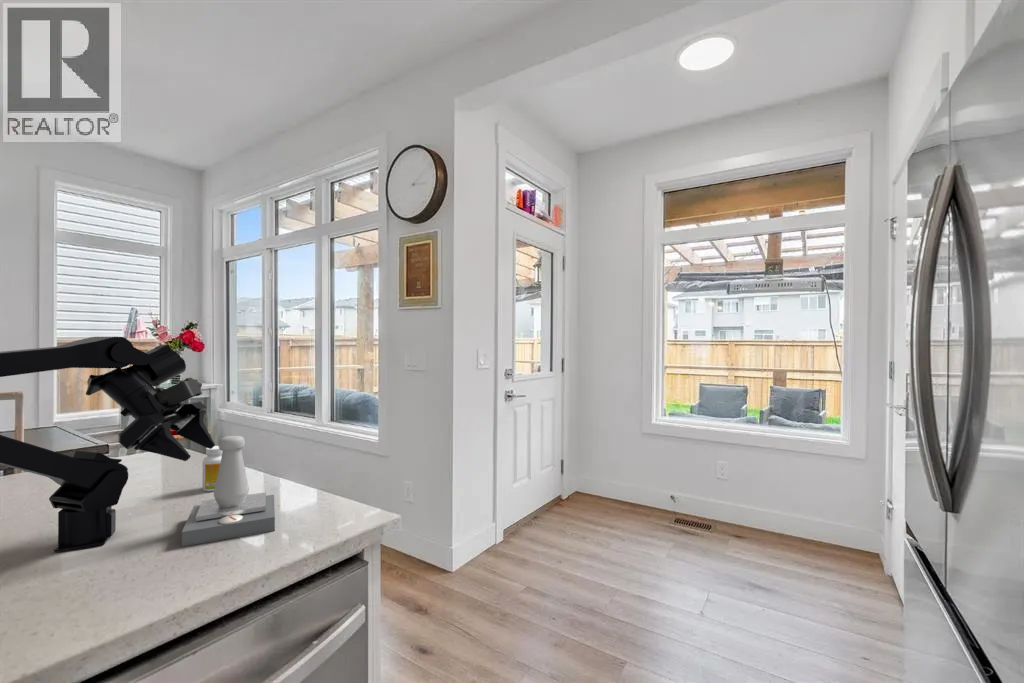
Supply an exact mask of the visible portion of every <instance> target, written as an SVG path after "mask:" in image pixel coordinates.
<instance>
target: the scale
mask: <svg viewBox="0 0 1024 683" xmlns="http://www.w3.org/2000/svg"><path fill="white" fill-rule="evenodd" d="M200 506H201V504H197V505H193V507H192V509H191V511H190V513H189V515H188V518H187V520H186V522H185V524H184V527H183V528H182V531H181V547H188V546H194V545H199V544H207V543H212V542H217V541H223V540H228V539H229V540H230V539H234V538H239V537H240V538H241V537H246V536H252V535H257V534H263V533H268V532H274V531H275V530H276V529H275V528H276V524H275V523H276V522H275V520H276V519H275V518H276V514H275V513H276V512H275V511H276V510H275V494H270V495H269V494H266V510H265V511H258V512H252V513H245V514H239V515H231V516H226V517H219V518H213V519H206V520H199V521H196V515H197V513H198V510H199V508H200Z"/></svg>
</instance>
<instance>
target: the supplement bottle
mask: <svg viewBox="0 0 1024 683" xmlns="http://www.w3.org/2000/svg"><path fill="white" fill-rule="evenodd" d="M222 452H223V451H222V450H220V449H219V445H215V446H214V447H213V448H211V449H209V448H207V447H205V454H206V457H204V458H203V460H202V490H203V491H204V492H214V489H215V485H216V481H217V476H218V472H219V467H220V463H221V457H222Z"/></svg>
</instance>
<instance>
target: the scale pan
mask: <svg viewBox="0 0 1024 683" xmlns="http://www.w3.org/2000/svg"><path fill="white" fill-rule="evenodd" d="M266 496H267V492H258V493H251V494H248V495H247V497H246V499H245V502H244V503H242V504H241V505H239V506H234V507H229V508H224V507H219V505H218V503H217V501H216V500H215V498H214V499H208V500H202V501H201V503H200V505H201V506H200V508H199V510H198V513H197V515H196V521H199V520H206V519H213V518H219V517H226V516H231V515H239V514H245V513H252V512H258V511H265V510H266Z"/></svg>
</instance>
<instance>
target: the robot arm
mask: <svg viewBox="0 0 1024 683" xmlns="http://www.w3.org/2000/svg"><path fill="white" fill-rule="evenodd" d="M127 366H128V367H127ZM71 368H72V369H74V368H75V369H83V368H84V369H111V370H110V371H108V372H106V373H103V374H97V375H96V374H90V375H89V377H88V379H87V381H86V382H87V383H86V384H87V389H86V392H85V395H86V396H92V395H93V394H96V393H98V392H99V391H102V392H104V393H105V394H106V395H107V396H109V398H111V399H112V400H113V401H114V402H115V403H116V404H117V405H119V406H120V407H121V408H122V411H120V414H121V415H122V416H124V417H128V416H131V417H132V418H133V419H134V420H132V422H130V423H128V425H127V426H126V427H125V428H124V429H122V430H121V432H120V433H118V443H119V444H120V445H121V446H123V448H125V449H126V450H129V449H134V451H139V450H140V451H143V452H149V453H153V454H157V455H161V456H165V457H169V458H172V459H176V460H179V461H183V462H186V461H188V460H189V459H190V458H191V455H190V453H189V452H188V451H187V450H186V448H185V447H184V446H183V445H182V444H181V443H180V441H178V440H177V439H176V438H175V436H174V435H173V434H172V433H171V432H172V431H171V430H173V431H174V432H176V435H178V436H180V437H183V439H186V440H189V441H191V442H193V443H195V444H197V445H200V446H201V447H204V448H209V449H211V448H213V447H214V446H216V444H215V442H214V439H213V438H212V436H211V434H210V433H209V431H208V429H207V427H206V424H205V423H204V420H205V415H206V413H207V411H206V410H207V409H208V407H207V406H206V405H205V404H204V403H203V402H202V401H190V402H188V403H183V402H185V401H187V400H189V399H191V398H194V397H199V396H201V395H203V391H202V390H201V388H202V387H203V384H202V383H201V382H199V381H198V379H195V378H193V377H187V378H185V379H183V380H180V381H179V382H178V383H176V384H174V385H172V386H169V387H167V388H164V387H162V386H161V387H158V386H160V385H162V384H163V383H166V382H168V381H170V380H171V379H173V378H176V377H177V376H179V375H181V374H183V373H185V371H186V369H187V365H186V362H185V359H184V358H183V357H181V355H180V354H179V353H178V352H176V351H175V350H173V349H172V348H171V346H170V344H159V345H157V346H155V347H154V348H152V349H150V350H148V351H143V350H140V349H138V348H137V347H135V346H134V344H133V343H132V342H131V341H130V340H129V339H127V338H126V337H125V336H90V337H87V338H82V339H77V340H73V341H71V342H68V343H65V344H61V345H57V346H49V347H39V348H38V347H37V348H28V349H18V350H17V349H16V350H7V351H6V350H5V351H4V350H3V351H0V378H3V377H9V376H11V377H12V376H17V375H18V376H19V375H26V374H33V373H41V372H42V373H43V372H49V371H56V370H65V369H71ZM155 387H156V388H155ZM120 462H122V459H121V458H115V457H114V458H113V457H109V456H107V455H106V454H103V453H101V452H99V451H98V452H97V451H87V450H79V449H77V450H75V451H74V454H73V456H70V455H67V454H63V453H60V452H57V451H54V450H50V449H47V448H44V447H41V446H38V445H34V444H31V443H28V442H24V441H21V440H18V439H15V438H12V437H9V436H5V435H2V434H0V466H4V467H7V468H8V467H9V468H11V469H16V470H19V471H24V472H28V473H30V474H34V475H38V476H42V477H46V478H49V479H50V480H52V481H53V482H55V483H56V484H58V485H59V487H58V488H57V489H56V490H55V491H54V492H53V493H52V494H51V496H50V497H49V498H48V500H49V502H50V504H51V506H52V508H53V509H60V510H59V511H58V512H57V519H58V520H57V531H58V532H57V533H58V534H57V538H58V540H57V543H58V544H57V545H56V546H55V548H53V553H59V552H60V553H61V552H66V551H67V552H68V551H72V550H78V549H83V548H84V549H85V548H90V547H92V548H93V547H98V546H102V545H105V544H106V543H107V542H108V541H109V539H110V538H111V537H112V536H113V535H114V533H115V532H116V529H117V528H116V524H117V522H116V520H117V519H116V518H117V517H116V516H117V515H116V512H117V511H116V509H115V508H112V507H113V506H116V505H118V503H119V500H120V497H121V495H122V492H123V490H124V488H125V486H126V485H127V483H128V480H129V471H128V470H129V469H128V467H127V466H126V465H125V464H123V463H120Z"/></svg>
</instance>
